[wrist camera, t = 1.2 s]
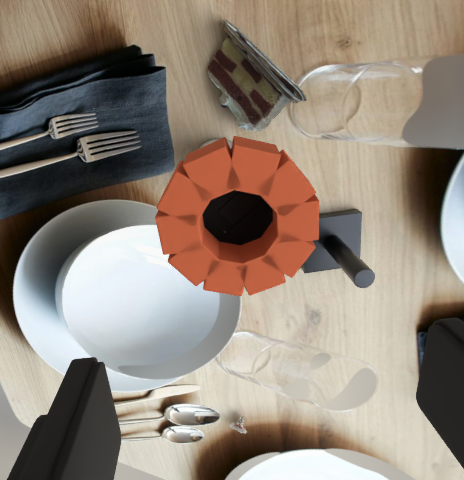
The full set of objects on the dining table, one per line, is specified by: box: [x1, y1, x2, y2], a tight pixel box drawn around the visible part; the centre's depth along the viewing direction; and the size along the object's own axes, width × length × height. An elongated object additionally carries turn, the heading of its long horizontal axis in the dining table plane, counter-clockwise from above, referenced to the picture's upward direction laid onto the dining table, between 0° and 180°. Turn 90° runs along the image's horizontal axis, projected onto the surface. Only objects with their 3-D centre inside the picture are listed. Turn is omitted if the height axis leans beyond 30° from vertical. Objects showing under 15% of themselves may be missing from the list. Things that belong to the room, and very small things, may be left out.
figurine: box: [229, 417, 247, 434], centre depth 60 cm, size 12×4×3 cm
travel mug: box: [199, 139, 273, 245], centre depth 36 cm, size 6×7×20 cm
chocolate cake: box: [208, 19, 307, 131], centre depth 41 cm, size 10×7×12 cm
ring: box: [155, 136, 319, 296], centre depth 25 cm, size 11×11×3 cm
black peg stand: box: [302, 209, 375, 288], centre depth 45 cm, size 8×8×12 cm
